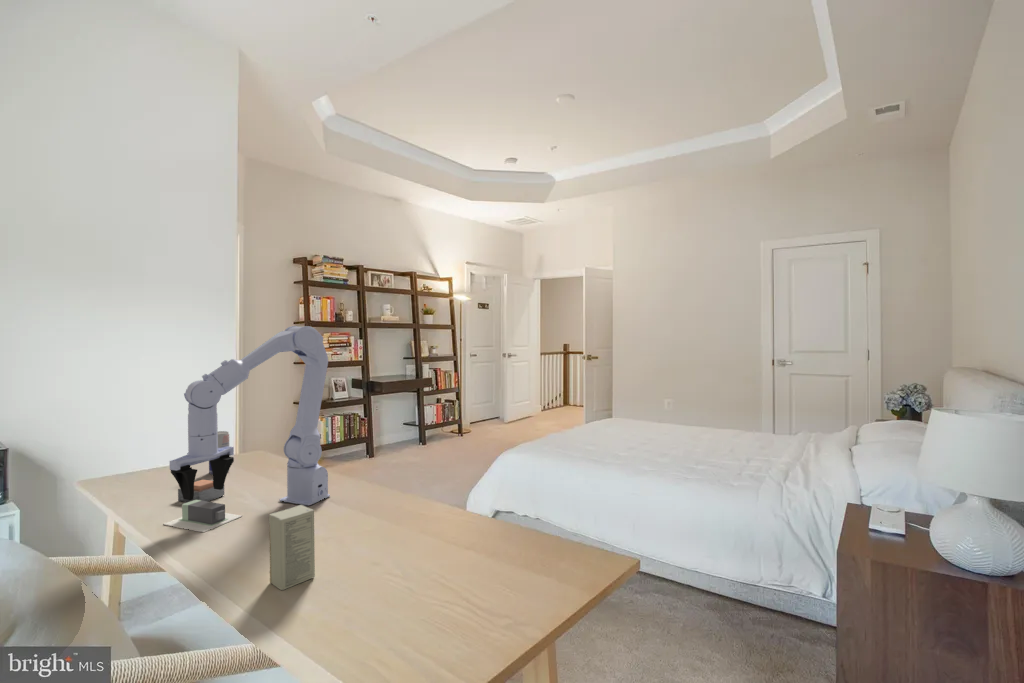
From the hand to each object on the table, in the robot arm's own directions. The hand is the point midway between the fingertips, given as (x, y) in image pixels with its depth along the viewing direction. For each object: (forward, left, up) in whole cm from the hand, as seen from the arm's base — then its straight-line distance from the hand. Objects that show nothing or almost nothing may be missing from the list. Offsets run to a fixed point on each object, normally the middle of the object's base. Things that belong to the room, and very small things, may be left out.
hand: (203, 493), depth 118 cm
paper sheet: (0, 0, -6) cm, 6 cm away
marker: (0, 0, -6) cm, 6 cm away
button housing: (+14, -11, -6) cm, 19 cm away
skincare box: (-39, +15, -6) cm, 42 cm away
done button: (+14, -11, -4) cm, 18 cm away
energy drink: (+30, -30, -6) cm, 43 cm away
